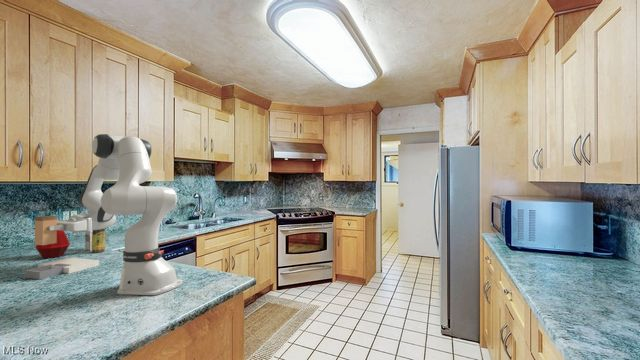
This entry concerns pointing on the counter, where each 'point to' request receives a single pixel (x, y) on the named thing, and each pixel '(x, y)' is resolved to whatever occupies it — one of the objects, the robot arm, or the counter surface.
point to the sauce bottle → (98, 240)
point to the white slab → (60, 267)
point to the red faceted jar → (54, 246)
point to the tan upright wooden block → (45, 230)
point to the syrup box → (88, 240)
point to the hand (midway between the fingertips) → (43, 228)
